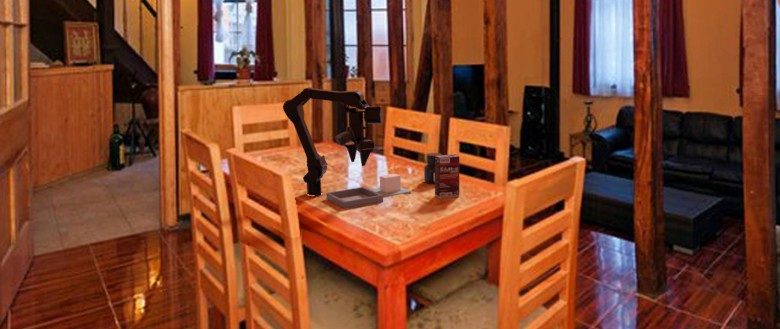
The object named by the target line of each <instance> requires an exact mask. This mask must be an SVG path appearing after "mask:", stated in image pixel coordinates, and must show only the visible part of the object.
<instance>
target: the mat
mask: <svg viewBox="0 0 780 329" xmlns="http://www.w3.org/2000/svg"><path fill="white" fill-rule="evenodd" d="M370 190H372V191H374V192H376V193H379V194H381V195H383V198H384V197H385V198H386V197H390V196H396V195H408V194H409V195H410V194H412V191H411V190H409V189H407V188H404V187H402V186H401V190H399V191H393V192H388V193H385V192H382V191H380V187H379V188H372V189H370Z"/></svg>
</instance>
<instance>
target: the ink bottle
mask: <svg viewBox="0 0 780 329" xmlns="http://www.w3.org/2000/svg"><path fill="white" fill-rule="evenodd" d="M425 155H426V160H425V161H426V165H424V167H423V171H424V172H423V174H424V176H423V180H424V183H426V184H431V185H432V184H433V185H435V156H441V155H443V153H441V152H429V153H426V154H425Z"/></svg>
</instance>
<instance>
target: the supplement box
mask: <svg viewBox="0 0 780 329" xmlns="http://www.w3.org/2000/svg"><path fill="white" fill-rule="evenodd" d="M434 196H435V197H436V198H438V199H445V198H456V197H460V156H459V155H457V154H455V153H454V154H444V155H443V154H442V155H441V156H435V184H434Z"/></svg>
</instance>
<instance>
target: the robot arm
mask: <svg viewBox="0 0 780 329" xmlns="http://www.w3.org/2000/svg"><path fill="white" fill-rule="evenodd" d="M364 96H365V95H364V94H363V92H362V91H360V90H345V91H337V90H329V89H321V88H313V87H311V86H310V87H305V88H303V89H302V91H300V92H299V93H298V94H296V95H295V96H294V97H293V98H291V99H287V100H285V101H284V103H283V105H282V110H283V112H284V114H285V116H286V117H287V118H288V119H289V121H290V122H291V123H292V124H293V127H294V128H295V131H296V133H297V136H298V139H299V141H300V144H301V147H302V149H303V152H304V155H305V157H306V168H307V171H308V172H306V174H305V175H304V176H302V180H303V182H304V183H306V193H307V194H309V195H320V196H322V195H321V193H323V192H322V179H323V176H324V175H325V174H326V173H327V170H328V165H329V164H328V162H327V161H326V158H325V155H322V156H321V155H320V154H319V153H318V151H317V149H316V146H315V143H314V141H313V138H312V135H311V133H310V131H309V128H308V126H307V123H306V121H305V110H304V105H305V104H307V103H308V102H309V101H310V100H311V99H313V100H321V101H328V102H337V103H340V104H342V105H344V106H345V105H346V106H345V108H344V109H343V110H342V113H345V114H347V115H348V126H346V128H345V129H346V130H345V131H343V132H340V133H339V134H337V135H335V136H334V139H335V142H336V144H337V145H340V146H343V147H344V148H345V149H346V150H347V153H348V156H349V158H350V161H351V163H354V162H355V160H356V156H357V152H358V153H359V158H360V163H361V167H365V166H366V165H367V161H368V159H369V157H370V154H371V153H372V151H373V150H374V149H375V148H376V142H374V141H373V140H372V139H367V137H366V136H365V130H367V127H366V126H365V124H364V122H365V123H366V124H367V125H383V124H384V112H383V108H382V107H383V106H382V105H377V106H371V105H369V103H368V102H367V100H366V99H365V97H364Z"/></svg>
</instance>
